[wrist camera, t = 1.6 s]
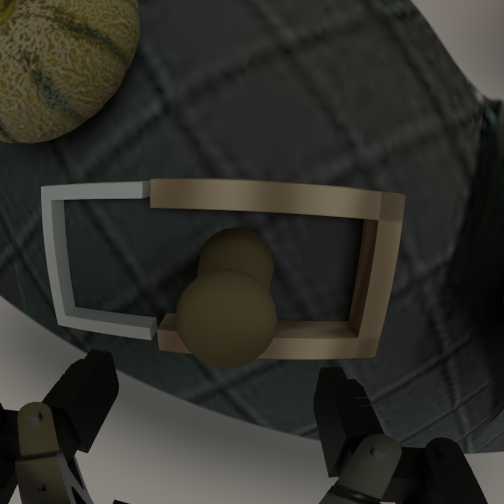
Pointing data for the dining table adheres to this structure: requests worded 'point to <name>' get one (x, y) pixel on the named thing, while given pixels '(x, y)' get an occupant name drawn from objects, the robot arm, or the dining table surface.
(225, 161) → the dining table surface
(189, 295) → the olive gourd
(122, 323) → the grey u-shaped staple
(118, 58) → the cantaloupe
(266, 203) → the oak channel
